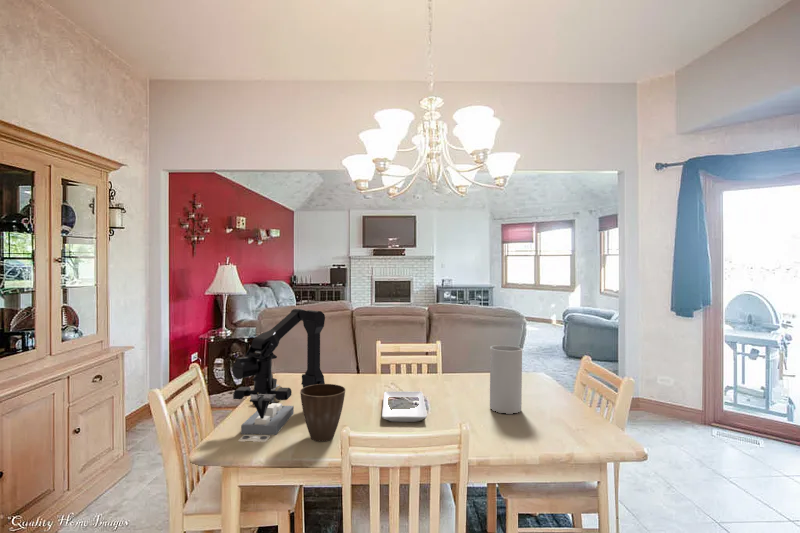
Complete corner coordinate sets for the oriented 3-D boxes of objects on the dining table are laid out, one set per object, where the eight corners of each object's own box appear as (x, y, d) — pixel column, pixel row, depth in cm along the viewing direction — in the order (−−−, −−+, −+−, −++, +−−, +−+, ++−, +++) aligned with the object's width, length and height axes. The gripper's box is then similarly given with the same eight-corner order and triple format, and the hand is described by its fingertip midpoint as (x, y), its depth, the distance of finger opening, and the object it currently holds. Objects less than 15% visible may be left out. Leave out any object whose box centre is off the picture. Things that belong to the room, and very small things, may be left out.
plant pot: (307, 427, 149) (308, 382, 149) (349, 430, 147) (349, 384, 147) (292, 445, 134) (293, 395, 134) (338, 448, 132) (339, 397, 133)
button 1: (269, 427, 148) (270, 416, 148) (265, 431, 144) (266, 420, 144) (258, 427, 148) (258, 415, 148) (254, 431, 144) (254, 419, 144)
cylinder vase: (526, 409, 171) (527, 348, 171) (511, 417, 162) (512, 352, 162) (499, 402, 180) (500, 344, 180) (483, 409, 170) (484, 348, 171)
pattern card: (270, 436, 141) (270, 434, 141) (265, 441, 136) (265, 440, 136) (244, 435, 141) (244, 434, 141) (238, 441, 137) (238, 439, 137)
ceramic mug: (274, 405, 173) (275, 386, 173) (257, 403, 175) (257, 384, 175) (288, 398, 183) (288, 380, 183) (271, 396, 185) (272, 378, 186)
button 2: (282, 413, 162) (282, 403, 162) (278, 417, 158) (279, 406, 158) (271, 413, 162) (272, 403, 162) (268, 417, 158) (268, 406, 158)
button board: (293, 413, 163) (293, 405, 163) (276, 435, 142) (276, 426, 142) (262, 412, 163) (263, 405, 163) (241, 434, 142) (241, 425, 142)
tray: (381, 425, 153) (381, 415, 153) (383, 398, 184) (384, 390, 185) (427, 425, 153) (427, 416, 153) (422, 398, 185) (422, 391, 185)
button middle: (276, 415, 155) (276, 404, 155) (272, 419, 151) (272, 408, 151) (265, 415, 155) (265, 404, 155) (261, 418, 151) (261, 407, 151)
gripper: (296, 368, 154) (295, 410, 154) (245, 367, 154) (245, 409, 154) (287, 375, 143) (286, 421, 143) (232, 374, 143) (232, 420, 143)
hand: (262, 418), depth 146 cm, fingers closed, pressing on button 1
